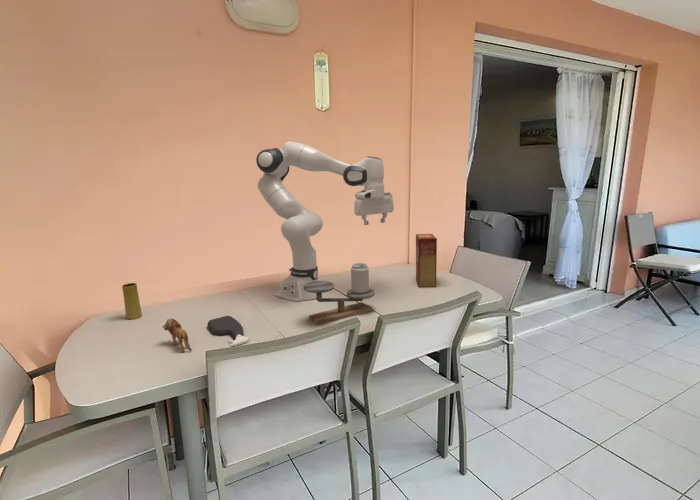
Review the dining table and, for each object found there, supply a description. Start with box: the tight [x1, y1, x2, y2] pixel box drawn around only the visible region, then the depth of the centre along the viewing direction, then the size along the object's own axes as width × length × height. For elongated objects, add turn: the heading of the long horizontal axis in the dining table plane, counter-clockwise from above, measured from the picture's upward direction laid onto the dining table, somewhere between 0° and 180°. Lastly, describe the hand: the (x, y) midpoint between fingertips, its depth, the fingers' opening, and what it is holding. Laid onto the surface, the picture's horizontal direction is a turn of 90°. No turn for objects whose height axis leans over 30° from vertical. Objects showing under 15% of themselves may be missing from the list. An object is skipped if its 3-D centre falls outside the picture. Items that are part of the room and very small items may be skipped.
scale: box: [303, 280, 376, 326], centre depth 160 cm, size 12×32×15 cm, turn 123°
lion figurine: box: [162, 318, 193, 353], centre depth 135 cm, size 15×5×9 cm, turn 52°
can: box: [350, 262, 370, 294], centre depth 164 cm, size 8×8×12 cm
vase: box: [121, 282, 143, 321], centre depth 163 cm, size 6×6×14 cm
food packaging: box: [415, 233, 438, 288], centre depth 197 cm, size 13×9×25 cm
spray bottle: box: [207, 315, 250, 348], centre depth 146 cm, size 3×11×24 cm
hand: (374, 223), depth 178 cm, fingers open, 8 cm apart
